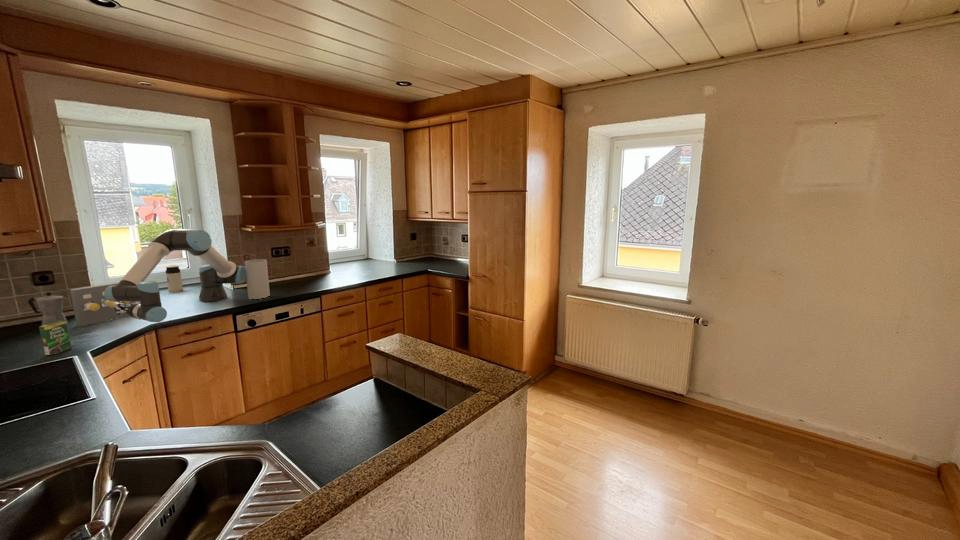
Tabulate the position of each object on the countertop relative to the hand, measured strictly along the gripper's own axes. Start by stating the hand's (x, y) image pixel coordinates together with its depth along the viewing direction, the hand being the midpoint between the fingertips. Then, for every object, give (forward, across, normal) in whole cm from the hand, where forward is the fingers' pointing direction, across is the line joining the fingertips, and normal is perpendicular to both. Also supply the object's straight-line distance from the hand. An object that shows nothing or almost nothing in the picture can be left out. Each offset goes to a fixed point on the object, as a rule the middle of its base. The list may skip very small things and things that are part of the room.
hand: (115, 305), depth 198 cm
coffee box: (-22, -30, -11) cm, 39 cm away
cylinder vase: (-15, +69, -11) cm, 71 cm away
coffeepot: (+25, -16, -11) cm, 31 cm away
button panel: (+14, +2, -10) cm, 18 cm away
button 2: (+14, +9, -2) cm, 17 cm away
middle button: (+10, +2, -3) cm, 10 cm away
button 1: (+10, -6, -3) cm, 12 cm away
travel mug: (+53, +55, -10) cm, 77 cm away
